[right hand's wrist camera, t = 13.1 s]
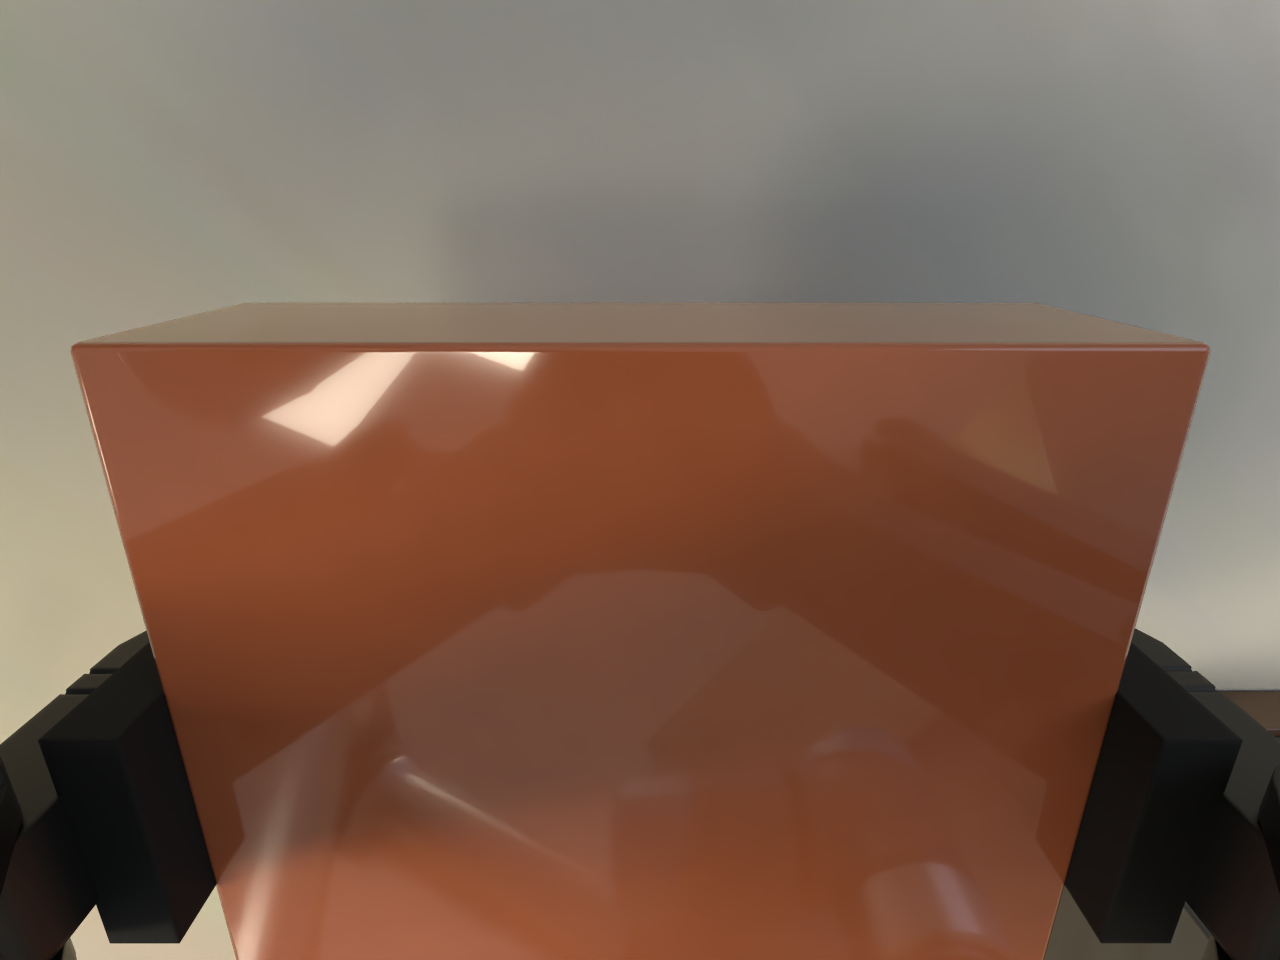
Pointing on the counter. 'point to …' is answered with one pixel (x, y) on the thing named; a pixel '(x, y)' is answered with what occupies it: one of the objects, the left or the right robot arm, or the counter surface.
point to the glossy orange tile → (640, 615)
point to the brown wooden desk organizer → (1081, 954)
